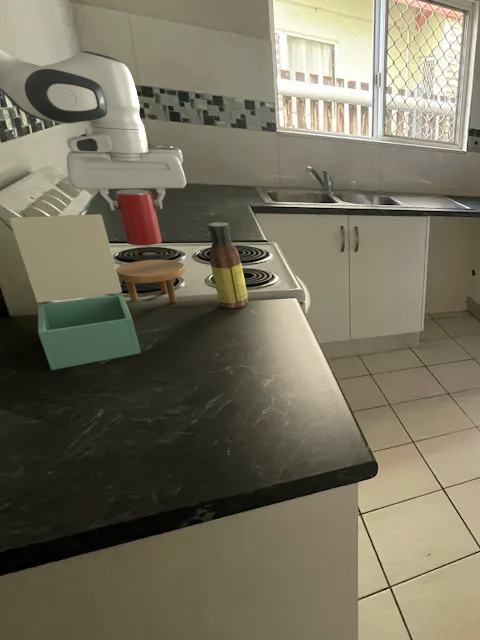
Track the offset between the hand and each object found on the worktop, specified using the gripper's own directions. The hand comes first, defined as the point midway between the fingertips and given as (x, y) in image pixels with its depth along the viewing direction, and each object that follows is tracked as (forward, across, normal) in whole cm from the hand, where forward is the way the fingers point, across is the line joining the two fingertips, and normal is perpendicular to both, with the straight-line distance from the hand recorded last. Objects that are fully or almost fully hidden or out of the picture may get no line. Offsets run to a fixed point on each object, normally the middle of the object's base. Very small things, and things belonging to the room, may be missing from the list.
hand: (137, 209), depth 105 cm
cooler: (+22, +13, +23) cm, 34 cm away
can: (+7, 0, 0) cm, 7 cm away
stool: (+22, 0, 0) cm, 22 cm away
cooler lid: (+6, +13, +15) cm, 21 cm away
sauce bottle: (+22, -14, +11) cm, 28 cm away
